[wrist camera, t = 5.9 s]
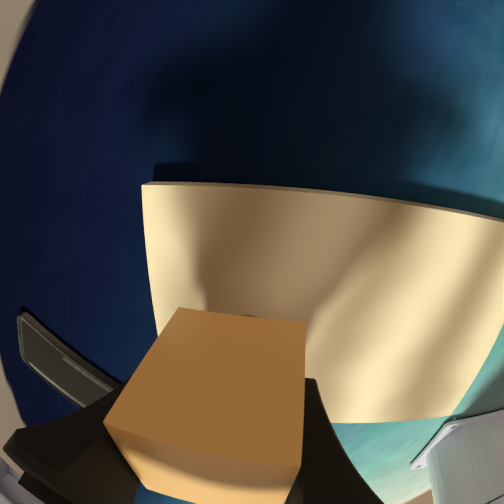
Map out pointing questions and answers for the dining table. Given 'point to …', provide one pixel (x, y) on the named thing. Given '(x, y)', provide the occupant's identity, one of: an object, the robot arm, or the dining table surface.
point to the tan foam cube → (216, 409)
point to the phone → (60, 364)
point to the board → (339, 285)
